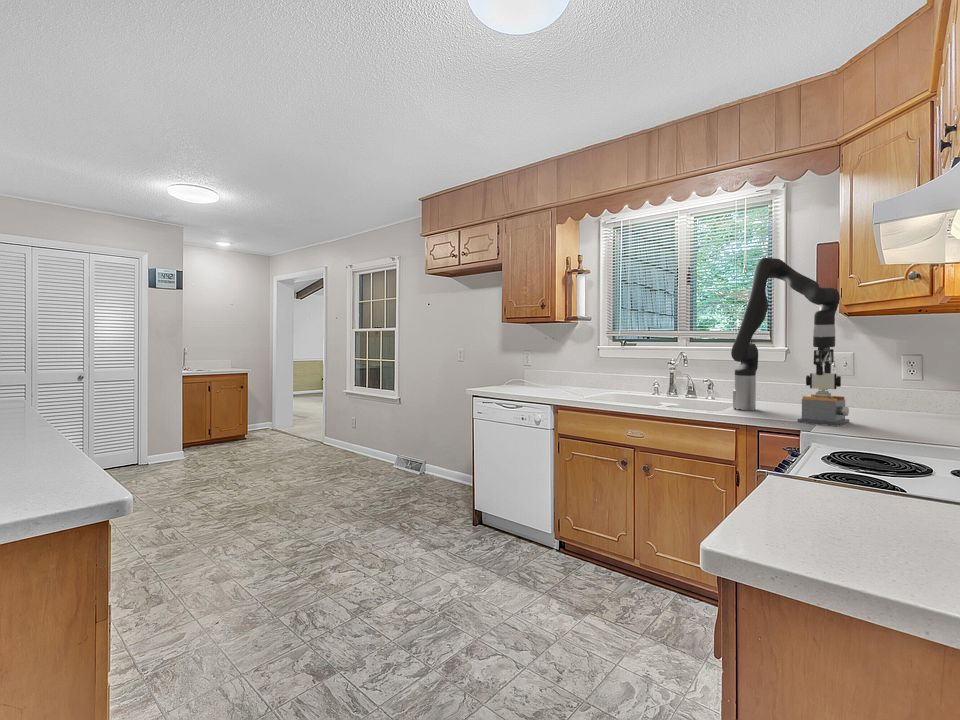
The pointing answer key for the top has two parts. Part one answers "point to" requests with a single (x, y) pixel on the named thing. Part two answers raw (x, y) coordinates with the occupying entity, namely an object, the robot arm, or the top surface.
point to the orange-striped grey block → (824, 410)
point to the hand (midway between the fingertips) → (823, 374)
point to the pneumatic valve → (823, 383)
